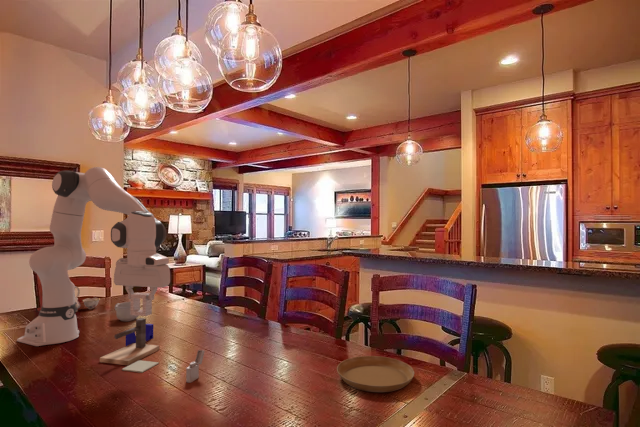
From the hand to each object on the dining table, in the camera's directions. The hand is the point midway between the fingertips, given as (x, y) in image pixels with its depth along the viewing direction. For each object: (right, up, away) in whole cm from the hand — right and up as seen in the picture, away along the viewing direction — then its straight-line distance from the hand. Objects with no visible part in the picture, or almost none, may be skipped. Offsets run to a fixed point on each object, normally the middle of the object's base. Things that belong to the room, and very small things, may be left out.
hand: (141, 299), depth 127 cm
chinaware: (-72, -24, +74) cm, 106 cm away
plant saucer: (+78, -23, -9) cm, 82 cm away
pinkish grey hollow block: (0, -5, 0) cm, 5 cm away
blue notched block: (-13, -24, +25) cm, 37 cm away
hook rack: (-9, -23, +10) cm, 27 cm away
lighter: (+22, -23, -9) cm, 33 cm away
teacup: (-36, -24, +60) cm, 74 cm away
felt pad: (0, -23, 0) cm, 23 cm away
